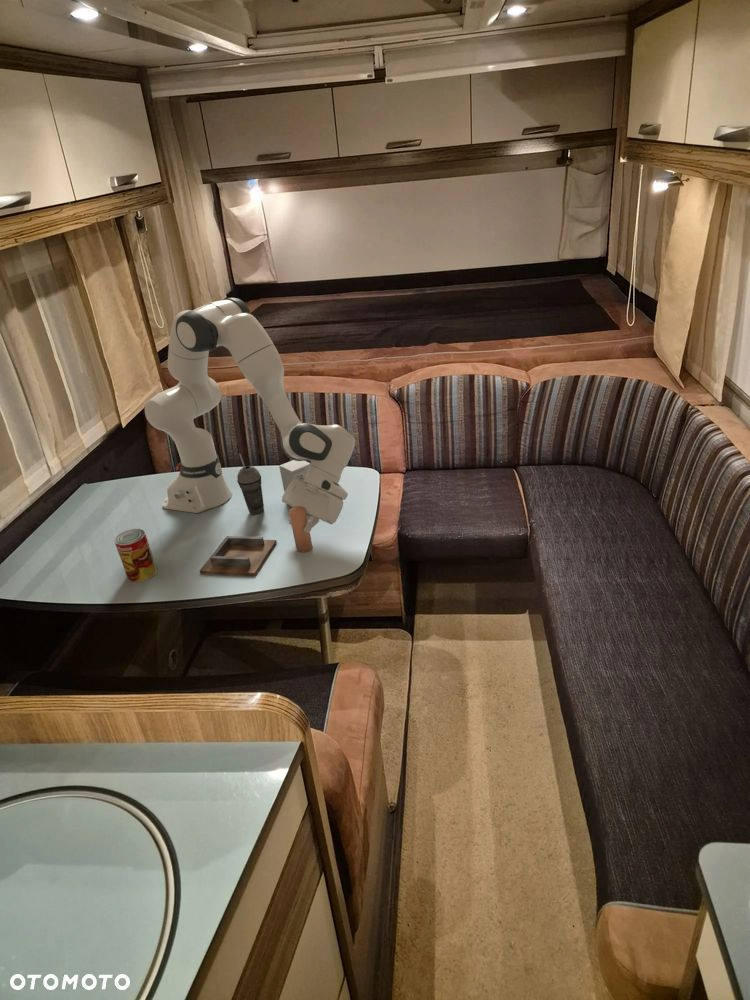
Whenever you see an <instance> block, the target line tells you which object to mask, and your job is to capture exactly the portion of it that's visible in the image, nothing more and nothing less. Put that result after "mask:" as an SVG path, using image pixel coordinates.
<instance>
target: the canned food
mask: <svg viewBox="0 0 750 1000" xmlns="http://www.w3.org/2000/svg"><path fill="white" fill-rule="evenodd" d="M114 544H115V547H116V550H117V552H118V555H119V558H120V560H121V563H122V566H123V568H124V569H123V570H124V572H125V575H126V577H127V580H128V581H130V582H131V583H140V582H141V583H142V582H144V581H147V580H149V579H151V578H153V577H154V576H155V575H156V574H157V571H158V567H157V563H156V561H155V558H154V556H153V553H152V550H151V547H150V543H149V540H148V537H147V534H146V531H145V530H144V529H141V528H133V529H132V528H131V529H128V530H125V531H123V532H120V533H119V534H118V535H116V537H115V538H114Z"/></svg>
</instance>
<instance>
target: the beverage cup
mask: <svg viewBox="0 0 750 1000" xmlns="http://www.w3.org/2000/svg"><path fill="white" fill-rule="evenodd" d="M238 455H239V458H240V461H241V464H242V466H243V467H241V469H240V470H238V472H237V473H238V474H237V476H236V479H237V483H238V486H239V488H240V490H241V492H242V493H241V494H242V496H243V498H244V502H245V504H246V506H247V510H248V512H249V515H250V516H254V517H258V516H260V515H263V514H264V512H265V505H264V497H263V496H264V495H263V490H262V488H263V487H262V475H261V473H260V471H259V470H258V469H257V468H256V467H254V466H252V465H246V466H245V463H244V462H245V461H244V460H243V457H242V456H243V455H242V453H239V454H238Z"/></svg>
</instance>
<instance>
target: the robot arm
mask: <svg viewBox="0 0 750 1000" xmlns="http://www.w3.org/2000/svg"><path fill="white" fill-rule="evenodd" d="M218 347H224V348H225V349H227V350H228V351H229V353H230V354H231V356H232V358H233V359H234V360H233V361H235V363H236V366H237V367H238V369H239V371H240V372H241V374H242V375H243V376H244V379H246V380H247V382H248V383H249V384H250V386H251V387H252V388H253V389H254V391H255V392H256V394H257V395H258V396H259V397H260V398H261V399H262V401H263V403H264V405H265V406H266V408H267V411H268V412H269V413H270V416H271V417H272V419H273V422H274V423H275V425H276V427H277V429H278V431H279V436H280V437H279V438H280V445H281V449H282V452H283V453H284V454H285V456H286V457H287V458H288V459H289V460H291V461H292V460H295V461H306V460H307V461H309V462H310V464H311V466H310V468H309V470H308V472H307V475H306V477H305V476H303V475H299V476H297V477H295V478H294V480H293V481H292V482H291V483H290V484H289V486H288V487H287V489H286V491H285V493H284V492H283V495H282V496H281V502H283V503H284V504H286V505H288V506H290V507H291V508H293V507H296V506H303V507H305V509H306V515H310V518H309V520H308V523H307V524H304V526H303V528H302V530H303V531H305V532H307V533H310V534H311V531H312V529H313V528H314V527H315V526H316V525H318V524H319V521H320V520H321V521H323V522H325V523H327V524H329V525H333V524H335V523H336V522H337V520H338V518H339V516H340V514H341V512H342V511H343V510H342V509H343V507H344V501H345V500H346V499H347V497H348V496H349V495H348V492H347V491H346V490H345V489H344V488H343V486H341V484H340V480H341V478H342V477H341V476H342V472H343V471H344V469H345V468H346V467H347V465H348V463H349V461H350V459H351V457H352V454H353V452H354V449H355V445H356V439H355V437H354V435H353V433H352V432H351V431H350V430H348V429H347V428H346V427H344V426H342V425H341V424H337V423H333V424H328V425H323V424H322V425H321V424H319V425H318V424H313V423H308V422H307V423H306V422H302V421H301V420H300V419H299V417H298V416H297V413H296V411H295V409H294V408H293V405H292V404H291V402H290V400H289V398H288V396H287V393H286V390H285V385H284V383H285V381H284V379H285V377H284V376H285V367H284V364H283V361H282V359H281V356H280V353H279V351H278V349H277V348H276V346H275V344H274V343H273V340H272V338H271V337H270V336H269V334H268V333H267V331H266V330H265V328H264V327H263V326H262V324H261V323H260V322H259V320H257V318H256V317H255V316H254V315H253V314H252V313H251V311H250V309H249V307H248V305H247V304H246V302H245V301H243V300H241V299H240V298H238V297H237V298H236V297H226V298H223V299H220V300H215V301H212V302H211V301H210V302H207V303H205V304H204V305H201V306H199V307H197V308H194V309H193V310H191V309H185V310H182V311H179V312H178V313H177V314H176V315H175V316H174V318H173V322H172V324H171V329H170V334H169V340H168V352H167V370H168V372H169V374H170V376H171V377H172V378H174V379H175V380H177V381H178V383H177V384H176V385H174V386H171V387H170V388H167V389H165V390H163V391H160V392H158V393H157V394H155V395H154V396H152V397H151V398H150V399H148V400H147V401H146V402H145V405H144V414H145V418H146V421H147V422H148V423H149V424H150V425H151V427H153V428H155V429H156V430H158V431H163V432H164V433H166V435H167V434H168V436H170V438H171V439H172V440H173V442H174V444H175V446H176V449H177V452H178V454H179V458H180V462H179V463H178V465H177V466H176V467H175V469H176V470H175V471H176V472H177V471H179V473H178V474H177V475H176V477H174V478H173V479H172V480H171V482H170V483H169V484H168V486H167V490H166V493H167V494H166V495H167V496H166V497H165V499H164V500H163V501H162V508H163V509H165V510H172V511H179V512H186V513H187V512H188V513H195V514H199V513H202V512H204V511H206V510H209V509H212V508H215V507H219V506H220V505H223V504H225V503H227V501H229V500H230V499H231V497H232V495H233V493H232V491H231V490H230V489H229V486H228V485H227V482H226V481H225V478H224V476H223V470H222V465H221V461H220V458H219V455H218V454H217V452H216V448H215V443H214V440H213V436H212V435H211V433H210V432H209V431H208V430H206V429H203V428H201V427H196V425H195V423H194V419H196V418H198V417H201V416H202V415H204V414H207V413H208V412H210V411H211V410H213V409H214V408H215V407H216V406H218V405H219V403H220V402H221V400H222V393H221V392H222V391H221V388H220V386H219V384H218V383H217V382H216V381H215V379H213V378H211V377H209V374H208V367H209V353H210V351H214V350H216V349H217V348H218ZM298 477H299V478H298ZM302 479H303V480H302ZM288 524H289V525H291V520H290V519H289V522H288Z"/></svg>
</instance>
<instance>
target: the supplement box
mask: <svg viewBox="0 0 750 1000" xmlns="http://www.w3.org/2000/svg"><path fill="white" fill-rule="evenodd" d="M311 464H312V463H311V462H308V461H306V460H304V461H295V460H292V459H291V460H290V461H288V462H285V463H282V464H280V465H279V467H278V468H279V473H280V477H281V482H282V488H283V494H284V493H285V491H286V489H287V487H288V486H289V484H290V483H291V482H292V481H293V480H294V478H295V477H297V476H299V475H303V476H305V477H306V475H307V472H308V470H309V468H310V466H311ZM298 478H299V477H298ZM302 480H303V479H302Z"/></svg>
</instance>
